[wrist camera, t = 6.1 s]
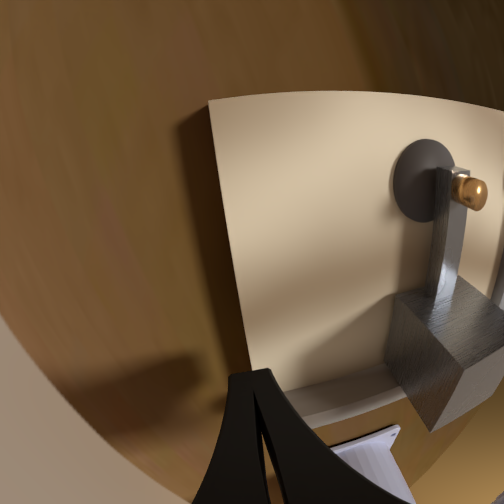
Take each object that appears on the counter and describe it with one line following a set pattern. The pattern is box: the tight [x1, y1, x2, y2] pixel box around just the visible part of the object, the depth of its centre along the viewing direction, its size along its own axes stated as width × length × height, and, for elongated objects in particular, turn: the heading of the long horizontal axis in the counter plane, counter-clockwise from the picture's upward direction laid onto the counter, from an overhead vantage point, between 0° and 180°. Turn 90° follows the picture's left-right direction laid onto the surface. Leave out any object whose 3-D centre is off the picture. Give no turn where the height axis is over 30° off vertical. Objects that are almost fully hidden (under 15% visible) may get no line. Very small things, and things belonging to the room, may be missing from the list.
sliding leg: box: [383, 166, 504, 433], centre depth 8 cm, size 8×4×4 cm, turn 7°
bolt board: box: [208, 91, 504, 429], centre depth 11 cm, size 14×16×3 cm
